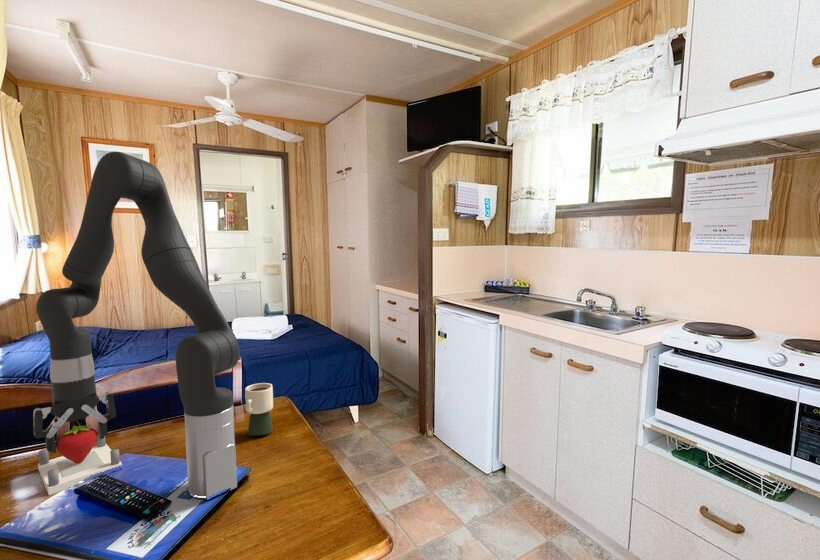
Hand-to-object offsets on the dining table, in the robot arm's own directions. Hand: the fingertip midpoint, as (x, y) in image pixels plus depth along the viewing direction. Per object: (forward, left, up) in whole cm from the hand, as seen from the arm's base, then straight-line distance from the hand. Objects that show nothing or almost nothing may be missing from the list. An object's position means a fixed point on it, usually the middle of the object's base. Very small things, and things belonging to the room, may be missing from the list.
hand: (78, 444), depth 90 cm
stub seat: (0, 0, -6) cm, 6 cm away
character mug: (-15, -36, -6) cm, 39 cm away
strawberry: (0, 0, -5) cm, 5 cm away
